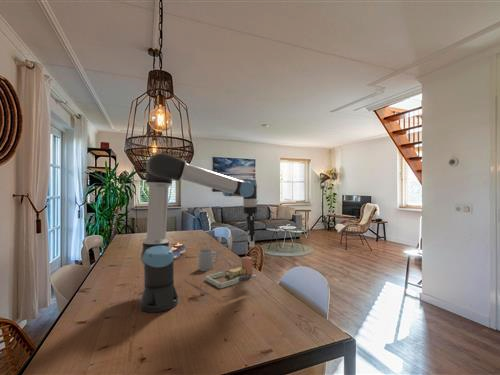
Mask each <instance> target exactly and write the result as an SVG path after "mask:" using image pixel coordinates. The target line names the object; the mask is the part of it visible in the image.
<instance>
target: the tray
mask: <svg viewBox="0 0 500 375" xmlns="http://www.w3.org/2000/svg"><path fill="white" fill-rule="evenodd" d="M224 273H225V272H224V271H218V272H217V273H212V274H208V275H205V276H204V278H205V279H204V280H205V281H206V283H207V282H208V283H209V284H210V285H213V286H214V287H216V288H218V289H223V288H227V287H230V286H232V285H236V284H238V283H239V282H240V281H239V278H237V279H233V280H231V279H229V280H227V281H224V282H220V281H218V280H215V279H217V278H221V277H225V274H224Z"/></svg>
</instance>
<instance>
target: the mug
mask: <svg viewBox="0 0 500 375" xmlns="http://www.w3.org/2000/svg"><path fill="white" fill-rule="evenodd" d="M214 256H215V260H214ZM218 258H219V256H218V253H217V252H216V251H213V249H209V248H208V249H207V248H206V249H200V250H199V251H198V271H199V272H207V271H212V270H213V269H214V264H216V263H217V262H218Z"/></svg>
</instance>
